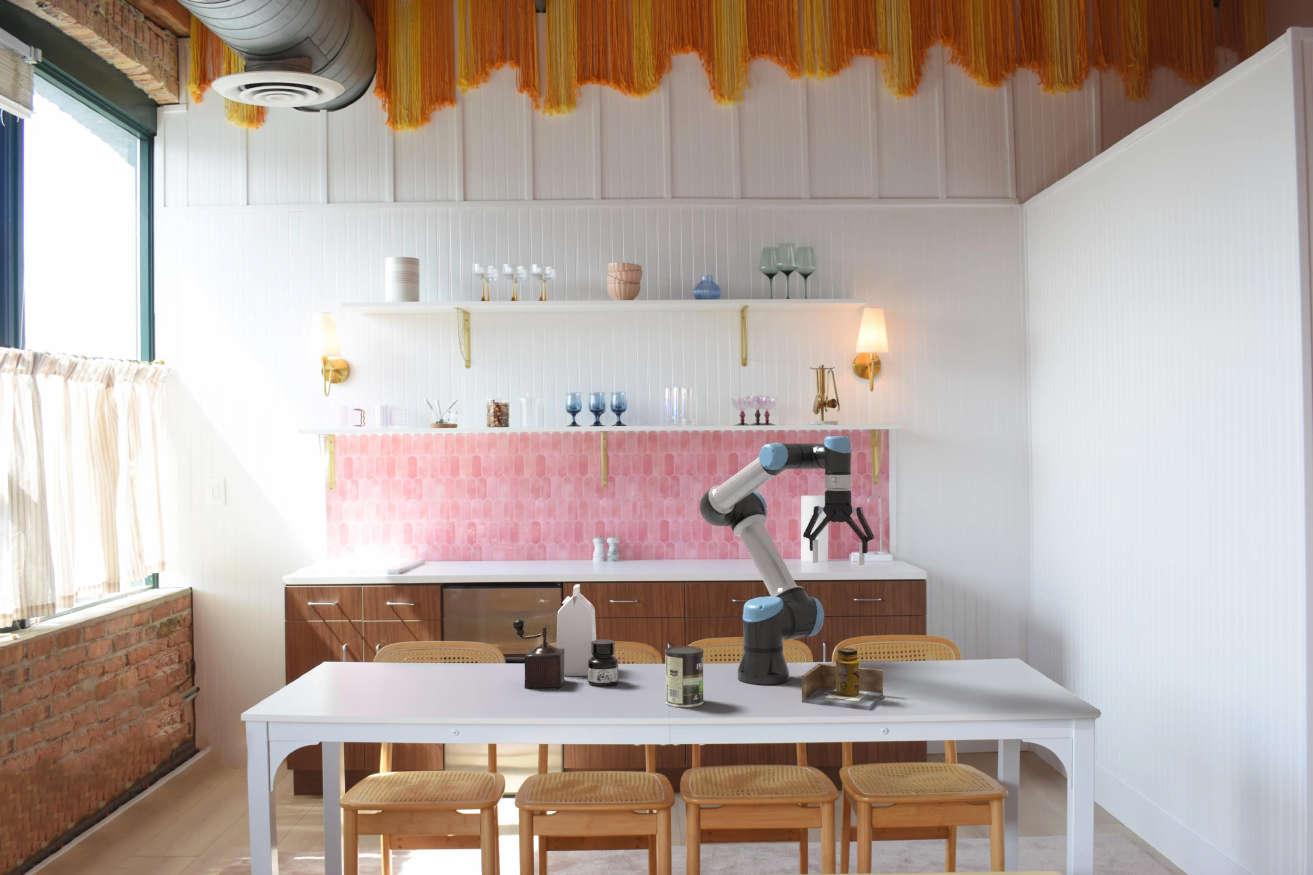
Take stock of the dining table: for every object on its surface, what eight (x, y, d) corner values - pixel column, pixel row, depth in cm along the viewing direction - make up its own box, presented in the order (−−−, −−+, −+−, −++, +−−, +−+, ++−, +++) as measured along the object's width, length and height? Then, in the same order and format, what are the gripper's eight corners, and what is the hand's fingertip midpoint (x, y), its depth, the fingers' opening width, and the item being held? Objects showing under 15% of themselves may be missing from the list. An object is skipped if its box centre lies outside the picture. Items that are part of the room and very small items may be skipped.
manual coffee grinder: (565, 679, 271) (565, 618, 271) (560, 689, 260) (560, 625, 260) (513, 679, 272) (513, 617, 272) (505, 688, 261) (505, 624, 261)
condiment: (866, 695, 247) (865, 650, 247) (841, 699, 243) (841, 654, 243) (847, 689, 253) (847, 645, 253) (823, 693, 249) (823, 649, 249)
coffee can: (705, 698, 249) (705, 646, 249) (701, 708, 239) (700, 654, 239) (668, 696, 251) (668, 644, 251) (662, 707, 241) (661, 652, 241)
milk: (593, 675, 276) (593, 588, 276) (555, 675, 276) (555, 588, 277) (597, 666, 288) (597, 583, 288) (560, 666, 288) (560, 583, 289)
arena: (801, 702, 245) (801, 675, 245) (819, 688, 259) (818, 663, 259) (869, 710, 237) (869, 682, 237) (883, 695, 251) (882, 669, 251)
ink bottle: (585, 687, 262) (584, 644, 262) (587, 679, 271) (587, 638, 271) (619, 687, 262) (619, 644, 262) (620, 679, 271) (620, 638, 271)
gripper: (792, 489, 267) (792, 562, 266) (878, 490, 255) (878, 567, 255) (800, 488, 274) (800, 560, 273) (884, 489, 262) (885, 564, 262)
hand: (838, 563), depth 264 cm, fingers open, 13 cm apart
